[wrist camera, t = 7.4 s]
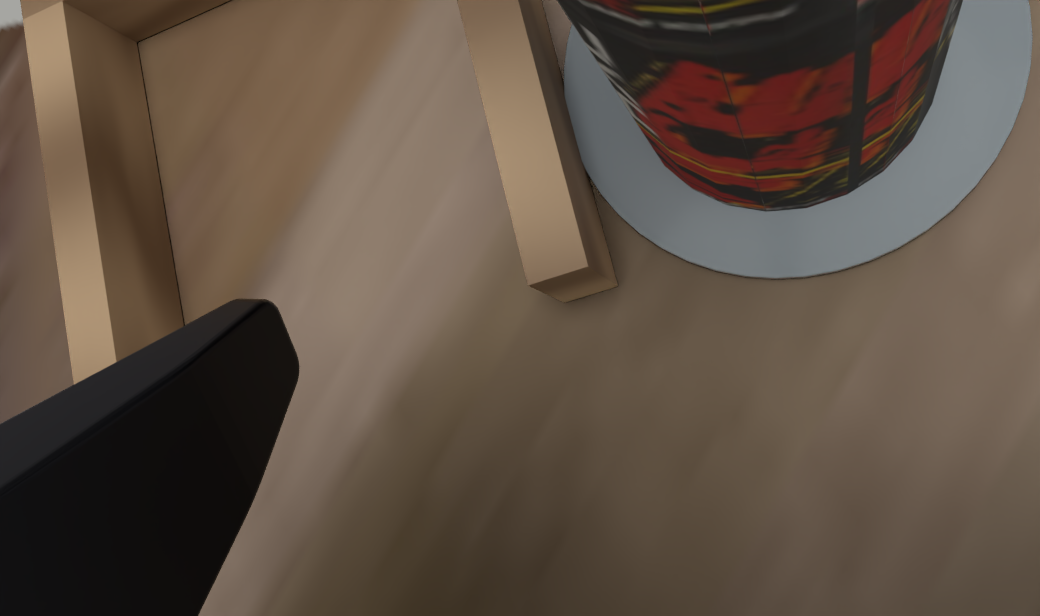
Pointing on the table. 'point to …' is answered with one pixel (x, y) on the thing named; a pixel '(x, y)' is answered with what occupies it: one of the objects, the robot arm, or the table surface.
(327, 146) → the table surface
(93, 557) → the robot arm
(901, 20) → the deodorant
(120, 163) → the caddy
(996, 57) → the coaster
